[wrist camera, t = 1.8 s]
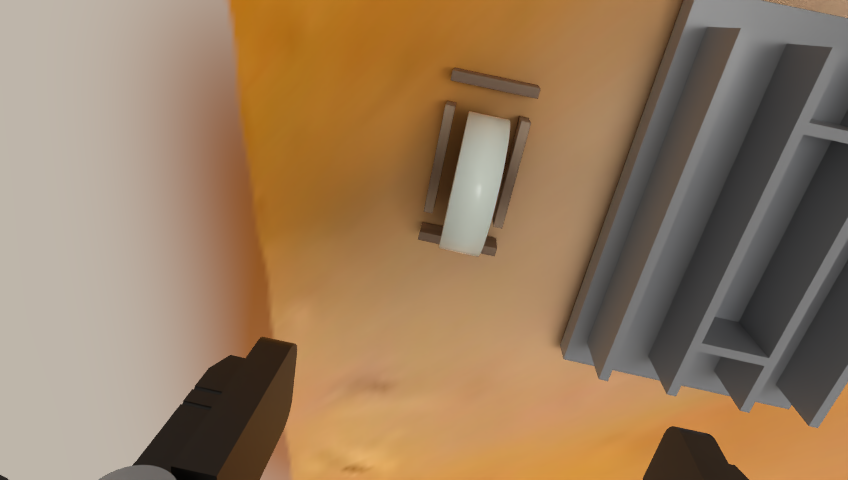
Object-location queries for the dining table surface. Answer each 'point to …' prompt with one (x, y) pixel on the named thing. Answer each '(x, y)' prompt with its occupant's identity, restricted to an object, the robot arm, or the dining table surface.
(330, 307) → the dining table surface
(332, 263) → the dining table surface
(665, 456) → the robot arm
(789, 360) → the rack
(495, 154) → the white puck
